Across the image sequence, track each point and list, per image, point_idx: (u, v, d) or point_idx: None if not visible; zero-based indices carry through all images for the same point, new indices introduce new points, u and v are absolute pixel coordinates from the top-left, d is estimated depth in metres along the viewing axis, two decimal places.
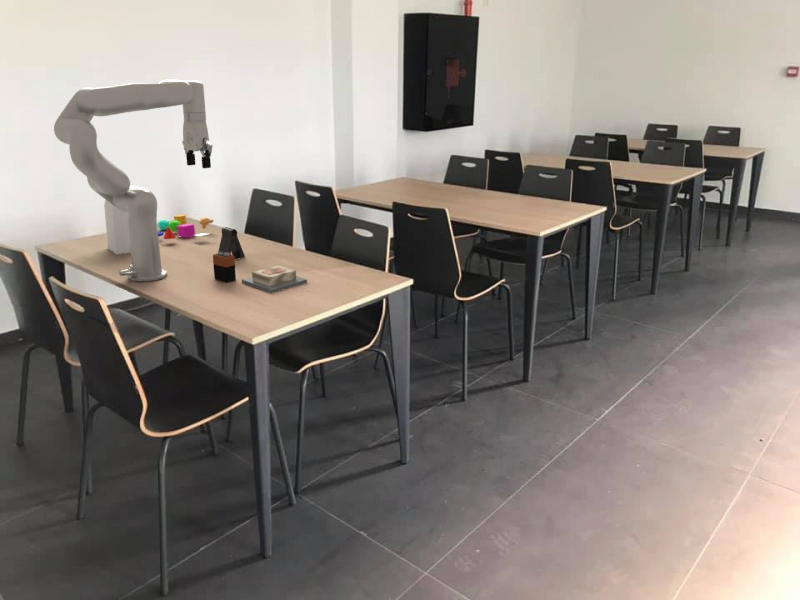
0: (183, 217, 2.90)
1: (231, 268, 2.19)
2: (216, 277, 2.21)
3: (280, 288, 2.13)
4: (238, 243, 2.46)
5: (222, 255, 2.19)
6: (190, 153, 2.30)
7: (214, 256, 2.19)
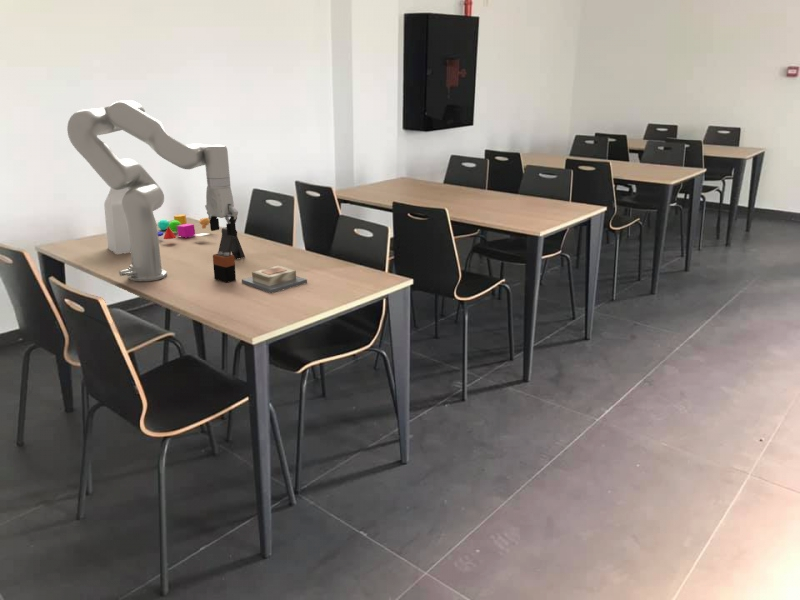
0: (183, 217, 2.90)
1: (231, 268, 2.19)
2: (216, 277, 2.21)
3: (280, 288, 2.13)
4: (238, 243, 2.46)
5: (222, 255, 2.19)
6: (214, 218, 2.18)
7: (214, 256, 2.19)
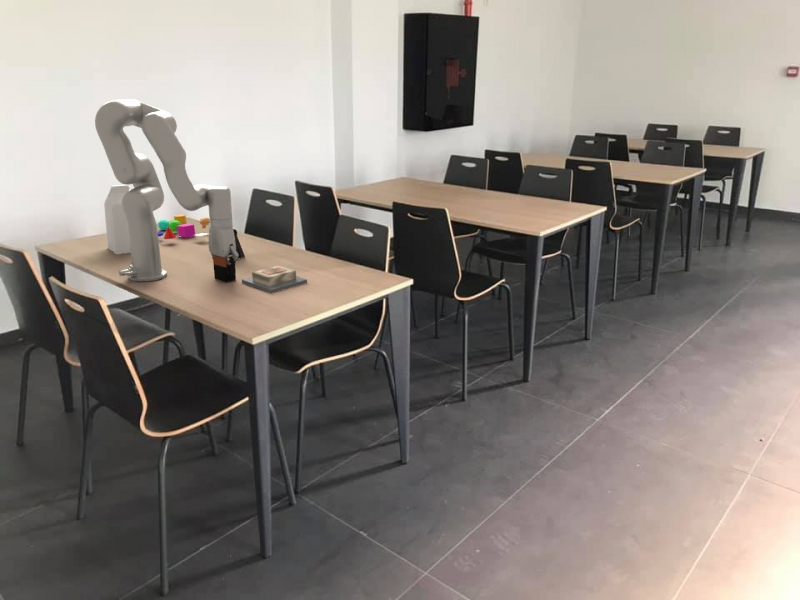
0: (183, 217, 2.90)
1: None
2: (217, 277, 2.21)
3: (280, 288, 2.13)
4: (238, 243, 2.46)
5: None
6: None
7: (214, 256, 2.19)
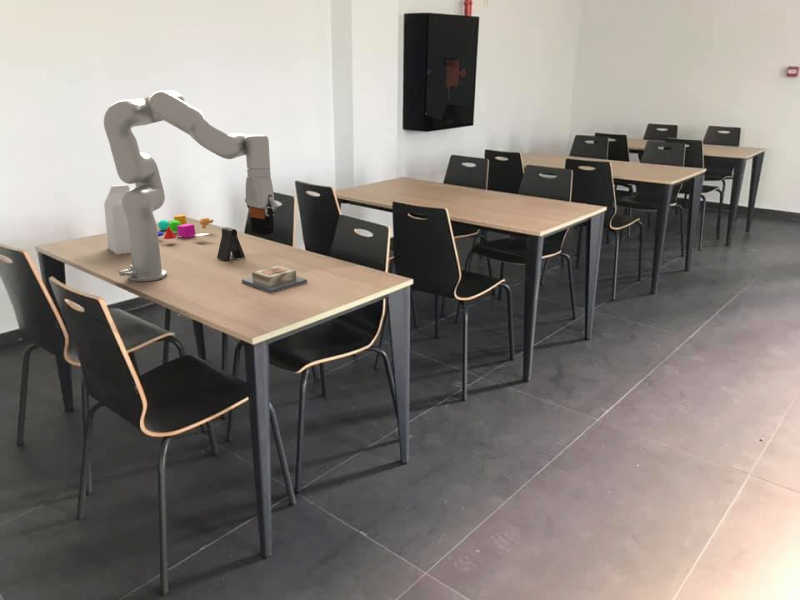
0: (183, 217, 2.90)
1: None
2: (254, 230, 2.14)
3: (280, 288, 2.13)
4: (238, 243, 2.46)
5: None
6: None
7: (251, 208, 2.12)
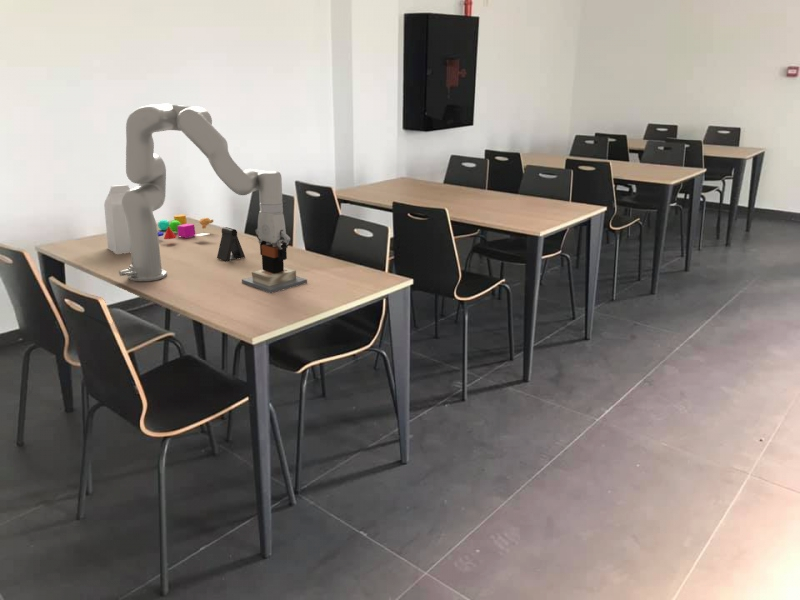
0: (183, 217, 2.90)
1: None
2: (264, 268, 2.18)
3: (280, 288, 2.13)
4: (238, 243, 2.46)
5: (271, 245, 2.15)
6: (264, 242, 2.19)
7: (263, 246, 2.16)
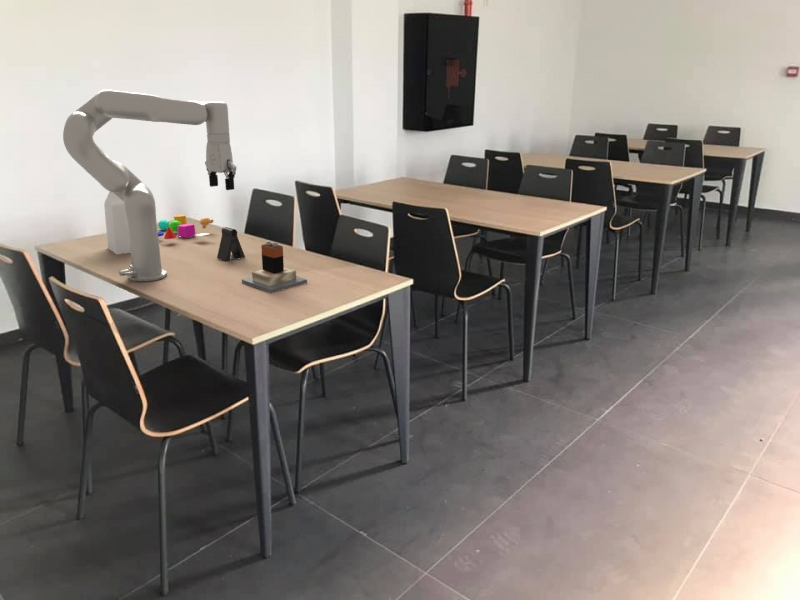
0: (183, 217, 2.90)
1: (279, 259, 2.16)
2: (264, 268, 2.18)
3: (280, 288, 2.13)
4: (238, 243, 2.46)
5: (271, 245, 2.15)
6: (213, 174, 2.26)
7: (263, 246, 2.16)
